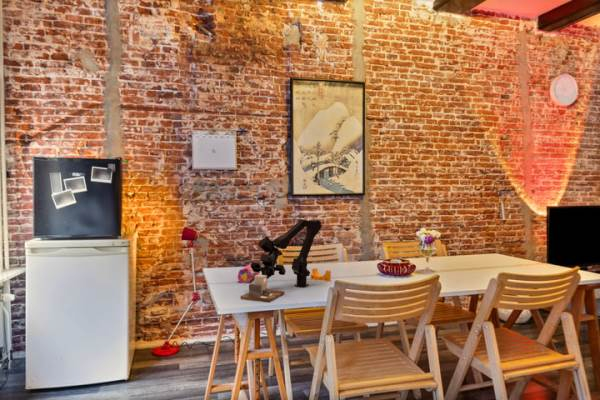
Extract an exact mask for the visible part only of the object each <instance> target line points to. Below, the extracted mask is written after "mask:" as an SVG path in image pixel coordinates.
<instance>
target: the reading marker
mask: <svg viewBox="0 0 600 400" xmlns="http://www.w3.org/2000/svg"><path fill="white" fill-rule="evenodd" d="M269 290H270V289H268V285H267V286H265V290H263V295H267V296H268V295H269Z"/></svg>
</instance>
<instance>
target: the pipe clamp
mask: <svg viewBox="0 0 600 400" xmlns="http://www.w3.org/2000/svg"><path fill="white" fill-rule="evenodd" d="M331 274H332V273H331V270H325V273H324V274H323V275H322V274H320V273H319V270H318V268H316V267H314V268H312V269H311V273H310V280H313V279H314V281H318V280H320V281H322V280H323V281H324V282H331V279H332V278H331V276H332V275H331Z"/></svg>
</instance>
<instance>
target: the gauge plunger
mask: <svg viewBox="0 0 600 400" xmlns="http://www.w3.org/2000/svg"><path fill="white" fill-rule="evenodd" d="M253 281H254V283H253V284H260V285H261V294H262V295H263V290H265V286H267V287H268V285H267V284H268V279H267V275H262V274H258V275H256V276H255V278H254V280H253ZM269 295H270V291H269Z"/></svg>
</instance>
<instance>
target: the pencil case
mask: <svg viewBox="0 0 600 400" xmlns="http://www.w3.org/2000/svg"><path fill="white" fill-rule="evenodd" d="M251 263H252V262H250V263H248V264H247V265H246V266H245V267H243V268H241V269H239V271H238V272H237V273H238V274H237V280H238V281H239V282H240V283H242V284H243V283H244V284H247V283H250V282H251V281H252V280H253V279H255V276H256V275H260V272H261V271H260V272H254V271H253V270H252V268H251V266H250V265H251Z"/></svg>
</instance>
